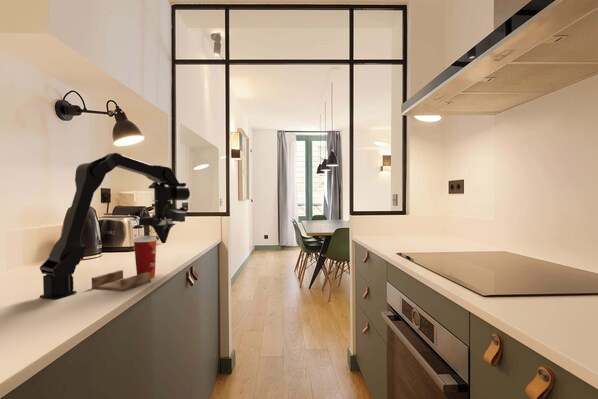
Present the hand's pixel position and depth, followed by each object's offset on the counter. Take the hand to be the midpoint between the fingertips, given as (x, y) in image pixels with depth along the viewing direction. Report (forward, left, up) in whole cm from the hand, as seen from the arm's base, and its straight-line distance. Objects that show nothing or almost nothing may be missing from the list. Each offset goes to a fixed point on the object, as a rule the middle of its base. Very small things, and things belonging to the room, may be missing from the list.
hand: (163, 243), depth 129 cm
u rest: (-20, 0, -10) cm, 23 cm away
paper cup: (-9, 0, -11) cm, 14 cm away
